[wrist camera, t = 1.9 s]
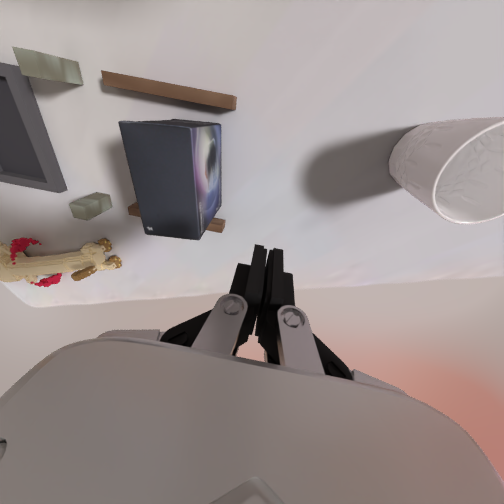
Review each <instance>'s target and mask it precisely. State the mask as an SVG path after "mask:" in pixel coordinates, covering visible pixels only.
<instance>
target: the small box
mask: <svg viewBox="0 0 504 504" xmlns="http://www.w3.org/2000/svg"><path fill="white" fill-rule="evenodd" d="M118 123H119V127H120V131H121V135H122V140H123V144H124V148H125V152H126V156H127V160H128V165H129V169H130V173H131V177H132V181H133V185H134V190H135V194H136V198H137V202H138V206H139V210H140V215H141V219H142V223H143V227H144V231H145V234H147V235H156V236H164V237H173V238H182V239H190V240H200V239H201V237H202V235H203V233H204V232H205V230H206V229H207V227H208V225H209V224H210V222H211V221H212V219H213V217H214V216H215V214H216V213H217V211H218V210H219V208H220V207H221V124H219V123H210V122H201V121H189V120H179V119H172V120H162V121H142V122H141V121H138V122H133V121H119V122H118Z"/></svg>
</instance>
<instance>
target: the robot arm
mask: <svg viewBox="0 0 504 504" xmlns="http://www.w3.org/2000/svg"><path fill="white" fill-rule="evenodd" d="M266 255H267V249H264V246H261V245H256V244H255V247H254V252H253V257H252V262H251V265H246V264H241V263H238V265H237V268H236V272H235V275H234V279H233V282H232V285H231V289H230V292H229V294H226V295H223V296H222V297H220V298H219V299H218V301H217V302H216V304H215V306H214V308H213V309H212V310H210V311H208V312H205V313H203V314H201V315H199V316H197V317H194V318H192V319H190V320H188V321H185V322H183V323H181V324H179V325H177V326H175V327H172V328H171V329H169V330H167V331H166V332H160V330H112V331H107V332H105V333H103V334H101V335H99V336H98V337H97V338H94V339H88V340H83V341H79V342H76V343H72V344H69V345H66V346H64V347H62V348H60V349H58V350H56V351H54V352H53V353H51V354H50V355H48V356H47V357H45V358H44V359H43V360H42V361H40V362H39V363H38V364H37V365H35V366H34V367H33V368H32V369H31V370H30V371H28V373H26V374H25V375H24V376H23V377H22V378H21V379H19V380H18V381H17V382H16V383H15V384H14V385H13V386H12V387H11V388H10V389H9V390H8V391H7V392H5V393H4V394H3V396H2V397H1V398H0V504H504V482H503V480H502V478H501V477H500V475H499V474H498V472H497V471H496V469H495V468H494V466H493V465H492V463H491V462H490V460H489V459H488V457H487V456H486V455H485V453H484V452H483V451H482V449H481V448H480V447H479V445H478V444H477V443H476V442H475V441H474V439H473V438H472V437H471V436H470V435H469V434H468V433H467V432H466V431H465V430H464V429H463V428H462V427H461V426H460V425H459V424H457V423H456V422H455V421H453V420H452V419H450V418H449V417H448V416H446V415H445V414H443V413H441V412H440V411H438V410H436V409H435V408H433V407H431V406H429V405H428V404H426V403H423V402H421V401H419V400H417V399H415V398H412V397H410V396H408V395H407V394H406V393H405V392H404V391H402V390H401V389H399V388H397V387H395V386H392V385H390V384H388V383H386V382H383V381H381V380H379V379H376V378H374V377H372V376H369V375H367V374H364V373H362V372H360V371H357V370H355V369H354V370H353V371H351V370H349V369H348V367H347V366H346V365H345V364H344V362H342V361H341V360H340V359H339V358H338V357H337V356H336V355H335V354H334V353H333V352H332V351H331V350H330V349H329V348H328V347H327V346H326V345H325V344H323V342H322V341H321V340H320V339H318V338H317V337H316V336H315V335H314V334H313V333H312V330H311V327H310V324H309V321H308V318H307V316H306V314H305V313H304V312H303V311H302V310H301V309H299V308H297V307H295V301H294V286H293V275H292V274H291V273H286V272H283V250H282V249H276V248H274V249H273V250H270V251H269V255H268V259H267V263H266ZM265 265H266V267H265ZM256 317H257V322H256V331H255V336H259V337H258V343H260V344H261V346H262V347H263V348H264V349H265V351H264V359H265V362H261V361H256V360H251V359H246V358H241V357H236V355H237V352H238V350H239V346H240V345H242V344H244V343H245V342H247V340H248V336H249V335H252V332H253V329H254V325H255V321H256Z"/></svg>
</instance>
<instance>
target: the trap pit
mask: <svg viewBox="0 0 504 504" xmlns="http://www.w3.org/2000/svg"><path fill="white" fill-rule="evenodd" d="M0 182H5V183H10V184H15V185H20V186H25V187H30V188H36V189H41V190H46V191H51V192H56V193H61V192H63V191H66V190H67V187H66V184H65V182H64V179H63V176H62V173H61V170H60V167H59V164H58V162H57V159H56V156H55V153H54V150H53V147H52V145H51V142H50V139H49V136H48V133H47V130H46V127H45V125H44V122H43V119H42V116H41V113H40V110H39V108H38V105H37V102H36V99H35V96H34V93H33V90H32V88H31V85H30V82H29V79H28V76H25V75H22V73H21V70H20V67H19V66H15V65H10V64H5V63H0Z"/></svg>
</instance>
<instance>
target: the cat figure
mask: <svg viewBox="0 0 504 504" xmlns="http://www.w3.org/2000/svg"><path fill="white" fill-rule="evenodd" d="M12 242H13V243H12V244H11V245H12V246H8V247H7V245H6V244H2V243H1V242H0V280H1V281H3V282H14V281H20V280H21V279H23V278H25V279H26V281H27V282H28V283H30V284H34V283H35V282H37V276H36V275H44V274H54V273H57V274H56V275H53V276H51V277H49V278H46V279H45V278H44V279H41V280H40V282H39V283H35V285H36V286H37V285H38V286H39V287H41V286H44V287H49V286H50V285H51V284H57V283H58V282H60V279H61V278H60V277H61V276H62V275H61V273H63V272H72V271H74V270H78V271H77V272H74V273H73V274H72V275H71V277H72V278H73V280H74V281H80V280H81V279H84V278H86V277H87V276H90V275H91V274H94V273H95V272H96V271H97V270H98V271H100V270H105V269H109V270H114V269H115V268H120V267H121V266H122V264H121V263H120V262H121V260H120V258H119V257H117V256H112V257H111V258H109V260H110V261H106V260H105V255H104V254H103V252H109V251H110V250H111V249H112V248H111V243H110V241H107V240H106V239H101V240H99V241H98V243H99V244H95V243H86V244H85V245H84V246H82V248H81V249H80V250H81V251H77V252H69V253H67V254H58V255H50V256H42V257H40V256H35V257H27V256H26V255H25V254H24V253H23V252H22V251H24V250H26V248H25V247H27V246H29V245H30V244H29V243H32V244H33V245H35V244H36V243H38V242H39V241H36V240H33V239H32V238H29V239H27V238H20V239H15V240H12ZM39 245H42V244H41V243H39ZM11 247H12V248H11Z"/></svg>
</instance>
